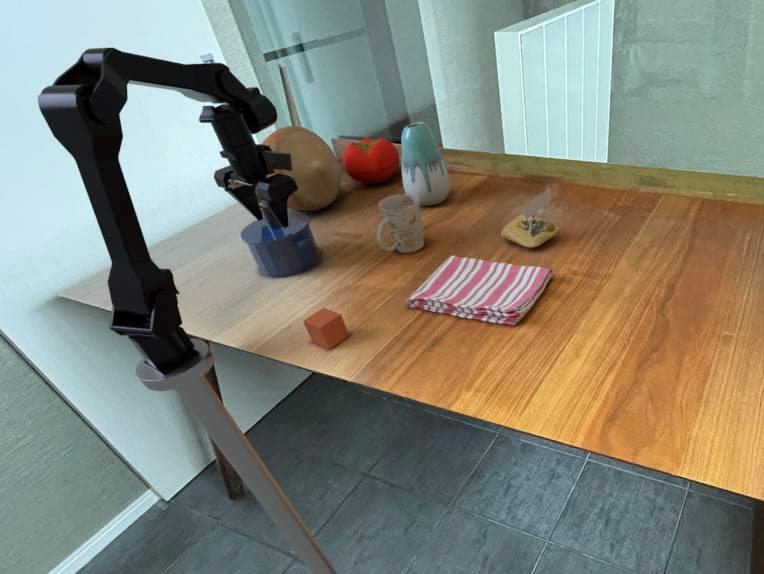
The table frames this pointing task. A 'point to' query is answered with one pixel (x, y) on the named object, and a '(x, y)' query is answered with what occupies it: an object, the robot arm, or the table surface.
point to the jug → (307, 167)
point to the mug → (401, 223)
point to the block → (326, 328)
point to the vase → (423, 166)
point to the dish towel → (481, 290)
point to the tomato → (371, 160)
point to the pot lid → (273, 228)
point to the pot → (287, 255)
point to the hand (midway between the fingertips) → (273, 223)
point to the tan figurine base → (531, 224)
